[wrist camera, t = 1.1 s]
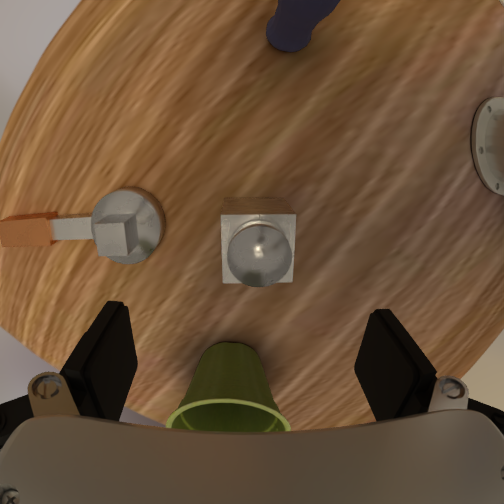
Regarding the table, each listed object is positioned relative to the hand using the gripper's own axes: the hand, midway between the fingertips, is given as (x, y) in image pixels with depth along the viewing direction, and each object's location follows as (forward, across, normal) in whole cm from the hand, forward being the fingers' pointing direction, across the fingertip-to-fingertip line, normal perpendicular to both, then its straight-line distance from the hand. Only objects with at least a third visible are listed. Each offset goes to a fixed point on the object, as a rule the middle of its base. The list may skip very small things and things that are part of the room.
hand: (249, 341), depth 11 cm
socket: (+19, -1, +1) cm, 19 cm away
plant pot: (+19, +1, +18) cm, 26 cm away
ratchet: (+19, +18, +1) cm, 26 cm away
